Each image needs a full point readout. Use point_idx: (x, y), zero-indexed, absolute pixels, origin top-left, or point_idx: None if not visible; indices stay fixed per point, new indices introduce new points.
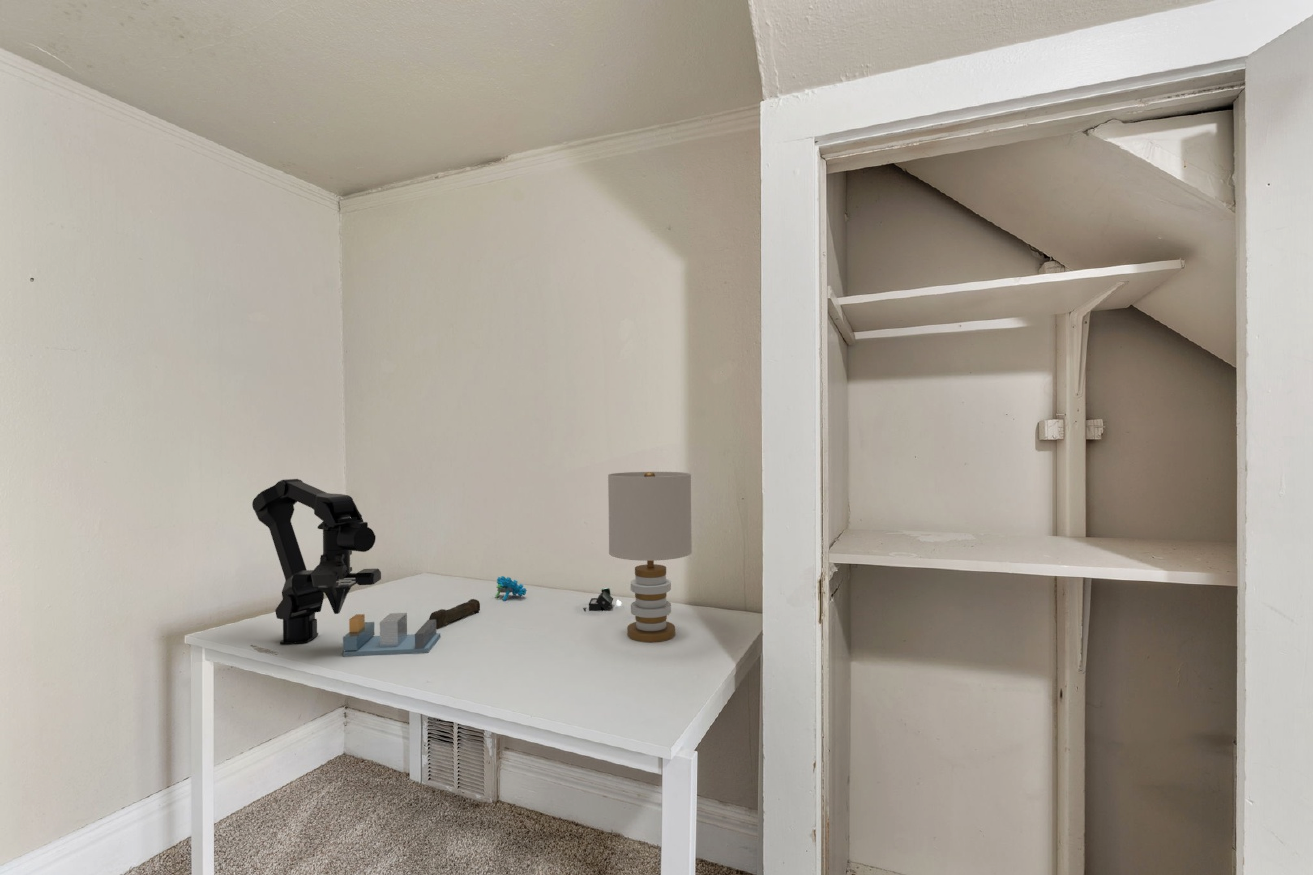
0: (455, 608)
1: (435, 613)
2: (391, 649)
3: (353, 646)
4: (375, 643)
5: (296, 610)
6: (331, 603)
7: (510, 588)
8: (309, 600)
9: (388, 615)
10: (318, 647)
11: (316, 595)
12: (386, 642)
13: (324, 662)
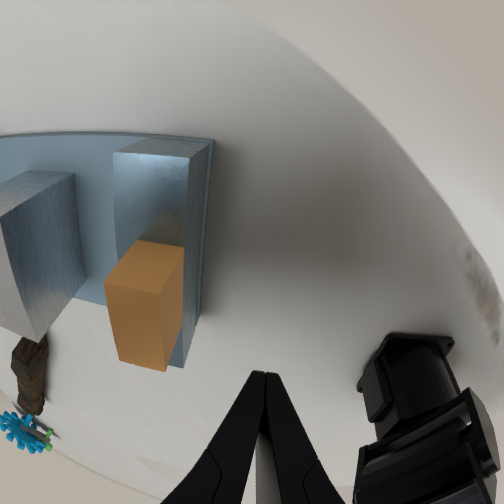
0: (21, 385)
1: (13, 358)
2: (34, 142)
3: (153, 141)
4: (108, 227)
5: (456, 423)
6: (297, 439)
7: (20, 427)
8: (415, 472)
9: (24, 315)
10: (347, 286)
11: (385, 498)
12: (44, 177)
13: (281, 79)
